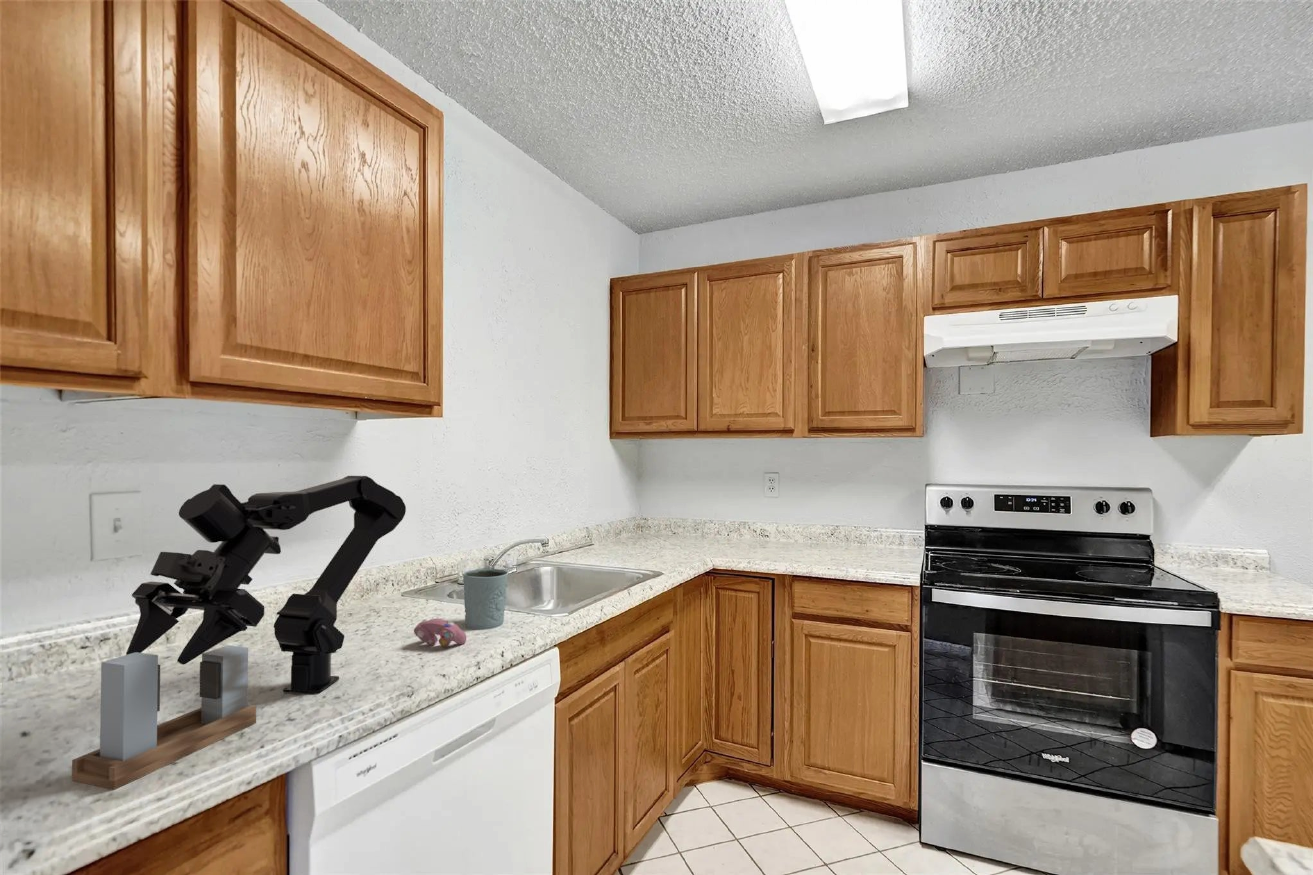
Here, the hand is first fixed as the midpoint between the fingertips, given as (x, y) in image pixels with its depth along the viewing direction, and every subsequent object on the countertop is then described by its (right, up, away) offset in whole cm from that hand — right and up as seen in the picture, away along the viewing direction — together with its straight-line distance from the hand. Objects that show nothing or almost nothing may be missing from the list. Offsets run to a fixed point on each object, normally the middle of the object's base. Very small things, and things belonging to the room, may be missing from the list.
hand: (154, 659), depth 83 cm
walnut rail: (+1, -13, +2) cm, 13 cm away
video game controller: (+21, -14, +47) cm, 54 cm away
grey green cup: (+27, -14, +63) cm, 70 cm away
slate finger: (-1, -12, -3) cm, 12 cm away
